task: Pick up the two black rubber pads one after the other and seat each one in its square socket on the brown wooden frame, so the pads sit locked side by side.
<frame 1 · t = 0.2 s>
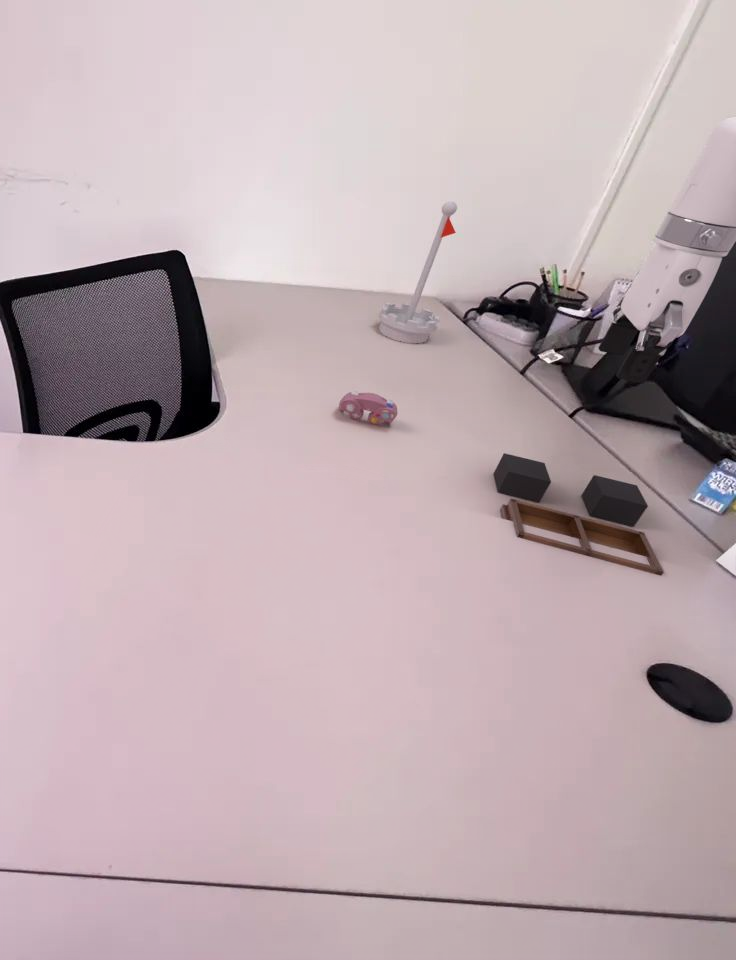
hand: (619, 365, 90), 24 cm above the table, tool pointing down, fingers open, 9 cm apart
black pad B: (515, 487, 107), on the table
black pad A: (606, 510, 104), on the table
flag stand: (402, 334, 160), on the table
brown wooden frame: (573, 546, 96), on the table
video game controller: (363, 421, 122), on the table
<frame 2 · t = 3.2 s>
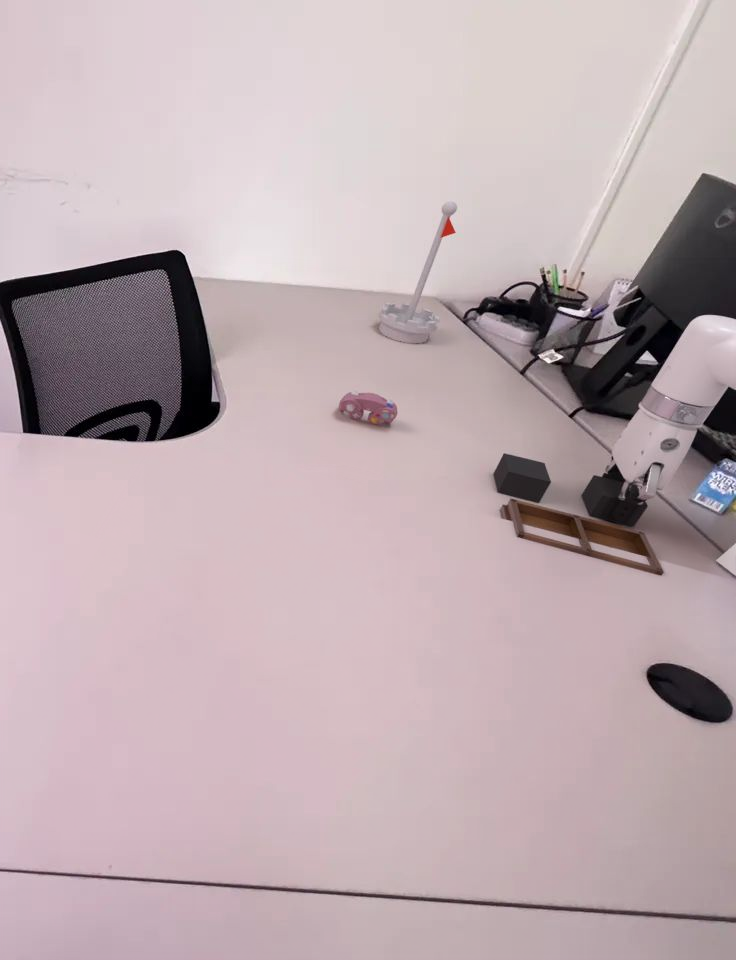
hand: (608, 507, 104), 1 cm above the table, tool pointing down, fingers closed on black pad A, 6 cm apart
black pad A: (606, 510, 104), on the table, touching gripper
everything else where it was.
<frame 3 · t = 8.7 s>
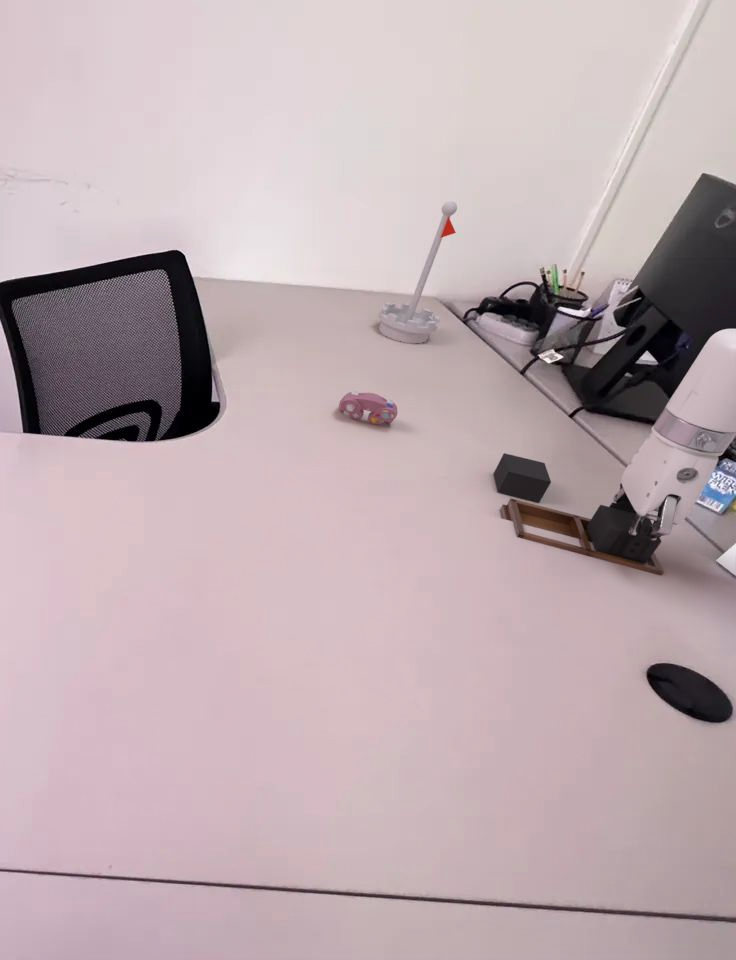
hand: (617, 541, 93), 3 cm above the table, tool pointing down, fingers closed on black pad A, 6 cm apart
black pad A: (614, 544, 93), point 2 cm above the table, touching gripper
everything else where it was.
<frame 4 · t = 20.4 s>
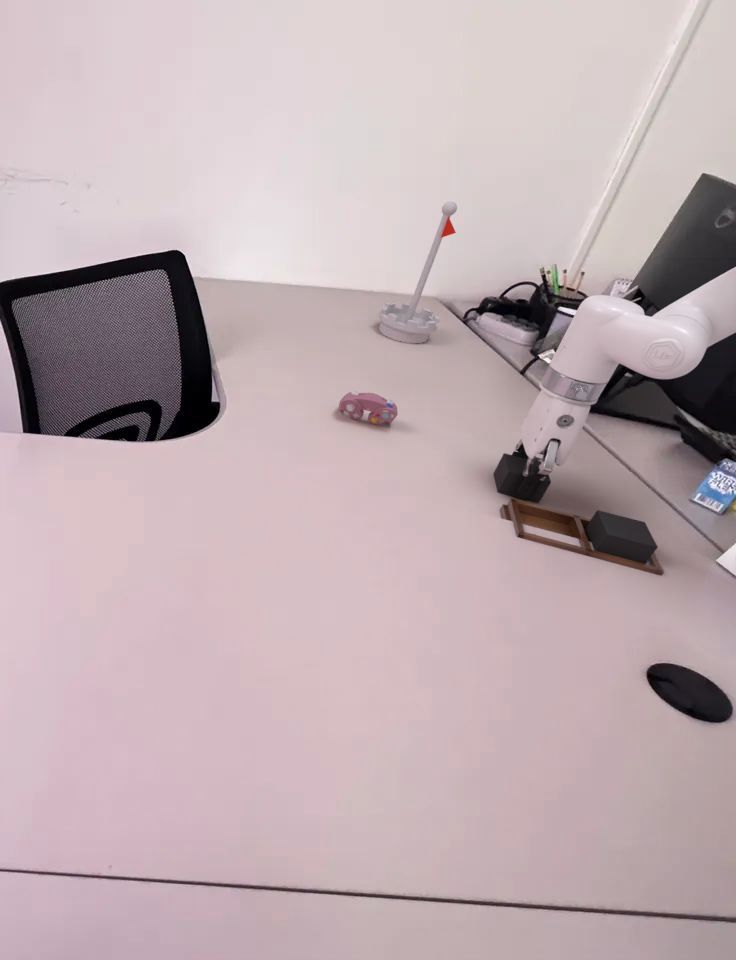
hand: (517, 484, 107), 1 cm above the table, tool pointing down, fingers closed on black pad B, 6 cm apart
black pad B: (515, 487, 107), on the table, touching gripper
black pad A: (611, 550, 94), point 1 cm above the table, touching brown wooden frame
everything else where it was.
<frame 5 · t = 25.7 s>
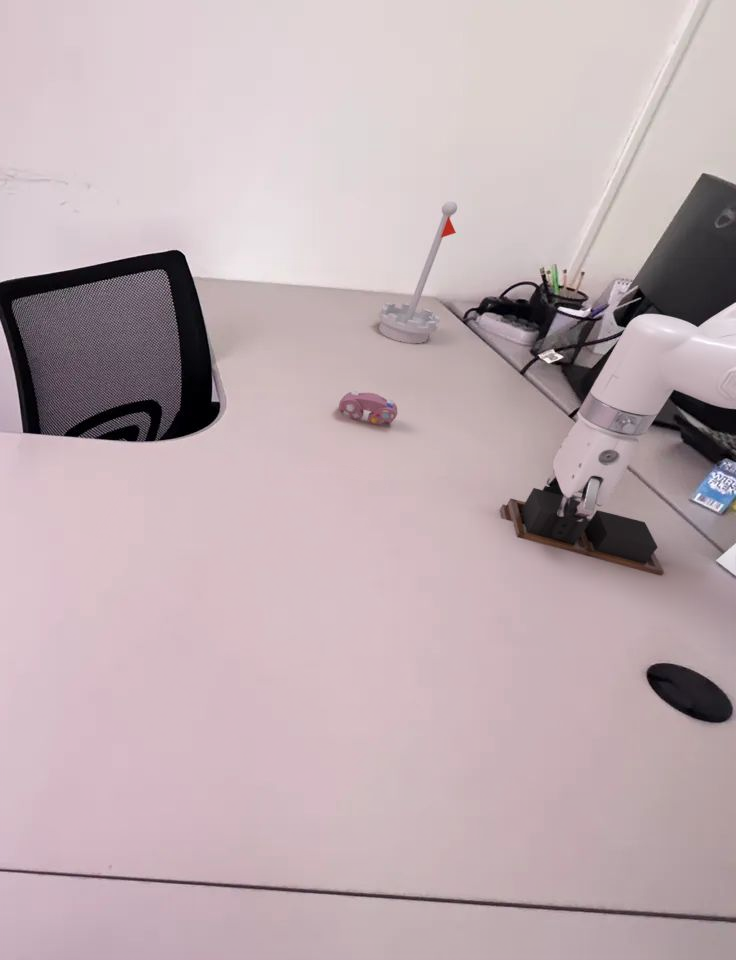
hand: (549, 523, 95), 3 cm above the table, tool pointing down, fingers closed on black pad B, 6 cm apart
black pad B: (546, 527, 96), point 2 cm above the table, touching gripper
everything else where it was.
when the fingers open (3 cm above the table, at t = 33.0 s): black pad B drops 2 cm, resting on brown wooden frame.
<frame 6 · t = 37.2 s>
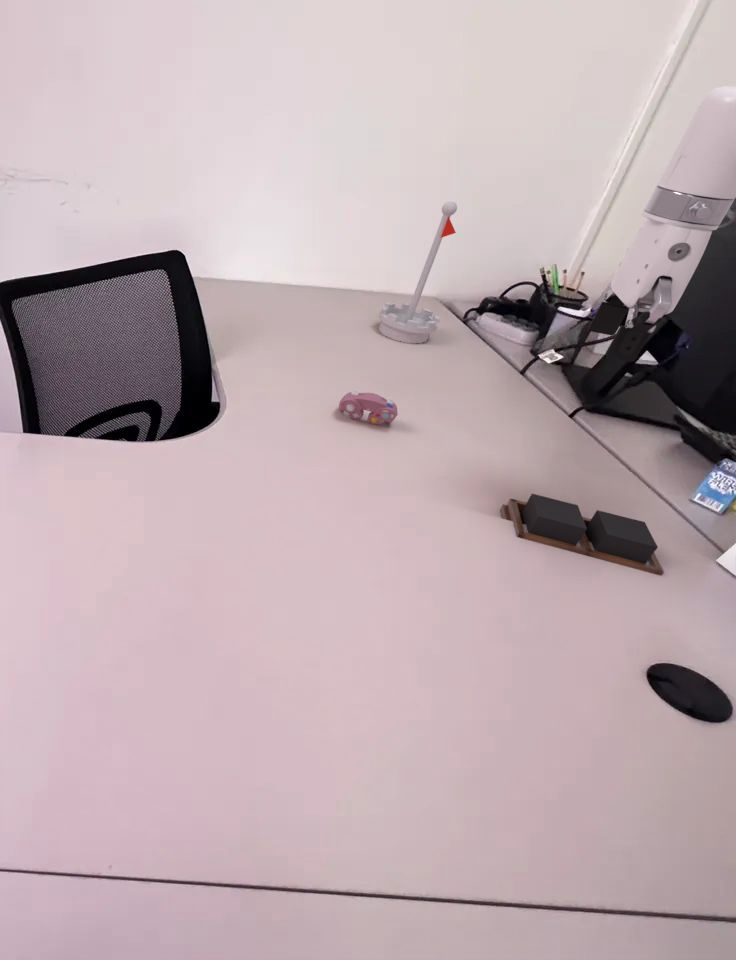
hand: (609, 345, 89), 26 cm above the table, tool pointing down, fingers open, 9 cm apart
black pad B: (545, 532, 96), point 1 cm above the table, touching brown wooden frame
everything else where it was.
at the end: black pad A 0.1 cm from the target spot on the brown wooden frame, point 1.0 cm above the brown wooden frame's base; black pad B 0.1 cm from the target spot on the brown wooden frame, point 1.0 cm above the brown wooden frame's base; black pad A tilted 0° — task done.
